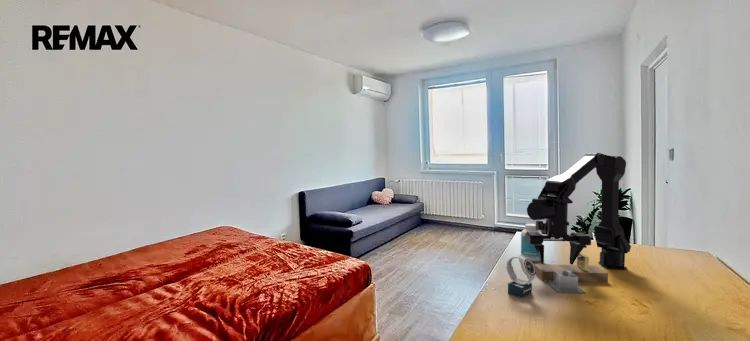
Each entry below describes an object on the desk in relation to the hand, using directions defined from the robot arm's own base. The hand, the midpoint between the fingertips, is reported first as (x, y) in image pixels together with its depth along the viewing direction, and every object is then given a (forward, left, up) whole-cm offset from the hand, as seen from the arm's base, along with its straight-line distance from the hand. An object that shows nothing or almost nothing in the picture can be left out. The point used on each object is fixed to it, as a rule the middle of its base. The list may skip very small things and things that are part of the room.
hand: (556, 263), depth 111 cm
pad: (+1, +9, -4) cm, 10 cm away
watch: (+16, +14, -5) cm, 22 cm away
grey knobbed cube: (+1, +9, -4) cm, 9 cm away
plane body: (-4, 0, -4) cm, 6 cm away
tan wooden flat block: (-8, 0, -1) cm, 8 cm away
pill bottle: (+2, -18, -5) cm, 19 cm away
